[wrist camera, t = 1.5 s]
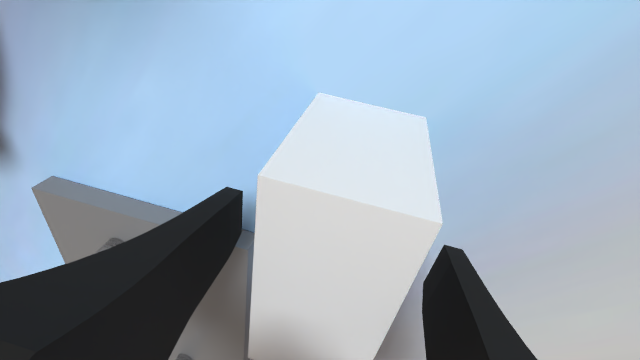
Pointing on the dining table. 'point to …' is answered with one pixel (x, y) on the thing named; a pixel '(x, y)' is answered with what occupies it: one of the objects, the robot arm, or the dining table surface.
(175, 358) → the pin tray
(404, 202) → the block
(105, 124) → the dining table surface
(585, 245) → the dining table surface
